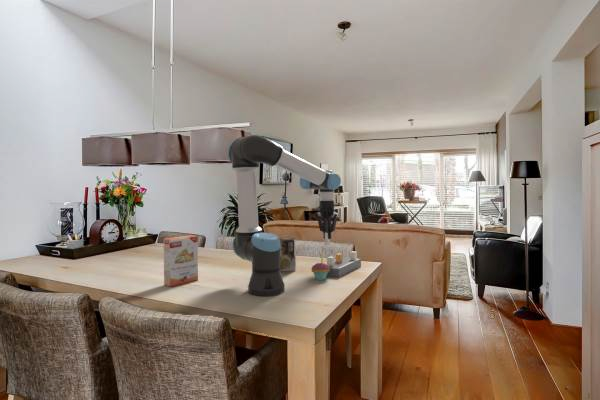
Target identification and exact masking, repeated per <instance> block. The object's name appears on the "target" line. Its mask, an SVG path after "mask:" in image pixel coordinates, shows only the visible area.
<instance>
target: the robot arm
mask: <svg viewBox="0 0 600 400" xmlns="http://www.w3.org/2000/svg"><path fill="white" fill-rule="evenodd" d="M226 153H227V157H228V160H229V161H230V162H231V163H232V164H231V165H232V166H231V167H232V170H233V171H234V172H235V174H236V176H235V177H236V192H237V193H236V194H237V211H238V212H237V213H238V228H237V229H236V230H235V236H234V237H233V240H232V250H233V252H234V254H235V255H236V256H237V257H239V258H241V259H242V260H245V261H249V262H251V269H252V270H251V276H250V279H249V283H248V285H247V292H248V293H249V294H250V295H253V296H259V297H270V296H271V297H272V296H277V295H281V294H282V293H284V292H285V289H286V288H285V287H286V286H285V283H284V280H283V276H282V273H281V271H280V239H279V238H280V237H279V236H278V235H276V234H275V233H271V232H269V233H268V232H263V228H262V227H260V226H259V211H258V210H259V209H258V208H259V207H258V190H257V189H258V188H257V172H258V170H259V169H260V164H265V165H268V166H270V167H275V166H276V167H278V168H280V169H283V170H284V171H286V172H289V173H291V174H293V175H295V176H297V177H299V186H300V188H301V189H302V190H307V191H308V190H319V209H318V210H319V211H318V212H316V213H315V214H314V215H315V217H316V219H317V223H318V227H319V231H320V232H322V233H323V239H324V246H327V247H328V246H330V245H331V239H332V233H334V232H335V231H336V226H337V220H338V218H339V216H340V214H339V213H337V212H336V211H335V190H336V189H337V190H338V188H339V187H340V186H341V184H342V179H341V176H340V175H339V174H338V173H336V172H334V170H332V169H331V170H330V169H328V170H327V169H325V170H324V169H322V168H320V167H318V166H317V165H314V164H312V163H310V162H308V161H306V160H305V159H302V158H301V157H299V156H297V155H295V154H293V153H291V152H290V151H288V150H285V149H284V148H283V146H282V145H280V144H279V143H277V142H275V141H273V140H271V139H269V138H267V137H265V136H262V135H258V134H251V135H247V136H246V135H245V136H242V137H238V138H236V139H233V140H232V141H231V143H230V144H229V145H228V148H227V152H226Z"/></svg>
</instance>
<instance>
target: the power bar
mask: <svg viewBox="0 0 600 400" xmlns="http://www.w3.org/2000/svg"><path fill="white" fill-rule="evenodd" d="M329 267H330V268H329V269H330V270H329V272H328V273H327V275H326V277H327V276H328V277H334V278H341V277H343V276H345V275H347V274H349V273H351V272H352V271H354V270H356V269H358V268H360V267H362V259H361V258H358V257H357V259H356V260H350V256H349V257H348V256H344V257H343V262H340V263H339V262H336V260H334V265H333V266H329Z"/></svg>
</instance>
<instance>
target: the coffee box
mask: <svg viewBox="0 0 600 400" xmlns="http://www.w3.org/2000/svg"><path fill="white" fill-rule="evenodd" d="M279 239H280V272H295V271H296V270H297V259H296V258H297V257H296V255H297V254H296V250H297V249H296V247H297V246H296V237H292V238H291V237H279Z"/></svg>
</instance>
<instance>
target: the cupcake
mask: <svg viewBox="0 0 600 400" xmlns="http://www.w3.org/2000/svg"><path fill="white" fill-rule="evenodd" d="M323 253H324V252H322V254H321V261H320V263H319V262H318V263H315V264H314V265H312V267H311V273H313V275H314V278H315V279H316V280H318V281H320V280H321V281H322V280H326V278H327V273H328V272H329V270H330V269H329V268H330V267H329V266H328V265H327V263H323V262H324V254H323Z"/></svg>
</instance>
